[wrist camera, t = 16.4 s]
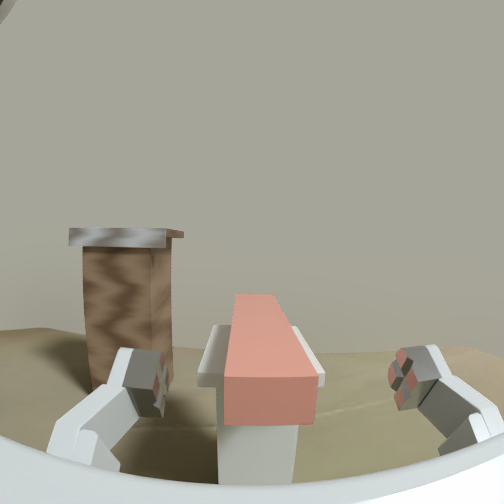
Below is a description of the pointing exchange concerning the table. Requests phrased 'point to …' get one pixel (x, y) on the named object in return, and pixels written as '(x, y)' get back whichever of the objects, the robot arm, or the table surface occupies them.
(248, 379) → the salmon pink flat bar
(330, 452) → the table surface
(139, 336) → the brown pedestal
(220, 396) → the stand
